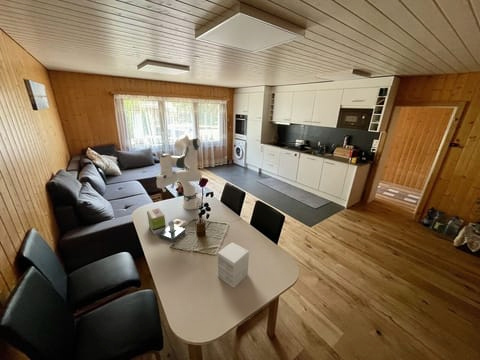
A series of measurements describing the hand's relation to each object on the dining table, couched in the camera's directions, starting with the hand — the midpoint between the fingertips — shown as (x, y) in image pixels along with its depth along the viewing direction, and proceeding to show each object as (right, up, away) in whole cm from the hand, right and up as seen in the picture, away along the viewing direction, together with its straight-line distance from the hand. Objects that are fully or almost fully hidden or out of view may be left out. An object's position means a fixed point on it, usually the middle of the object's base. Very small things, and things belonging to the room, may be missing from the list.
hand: (168, 189), depth 160 cm
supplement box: (+55, -50, -44) cm, 86 cm away
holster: (+6, -31, +6) cm, 32 cm away
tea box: (-9, -33, +1) cm, 34 cm away
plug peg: (+6, -36, -8) cm, 37 cm away
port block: (+6, -36, -8) cm, 37 cm away
